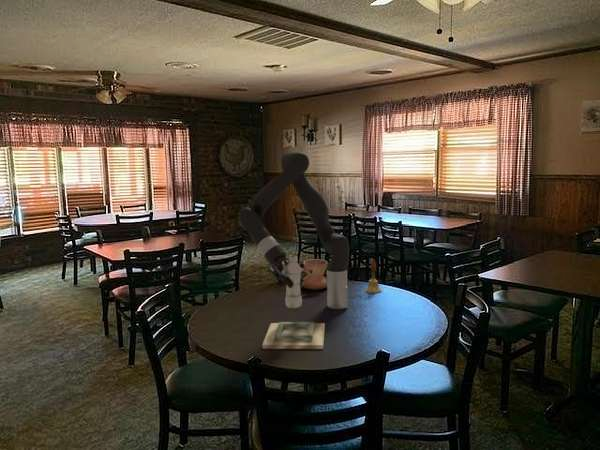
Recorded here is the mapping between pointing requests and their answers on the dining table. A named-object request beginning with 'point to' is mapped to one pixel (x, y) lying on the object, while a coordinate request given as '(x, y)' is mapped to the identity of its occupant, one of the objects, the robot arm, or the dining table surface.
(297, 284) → the plastic bottle
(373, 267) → the hand bell
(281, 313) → the dining table surface
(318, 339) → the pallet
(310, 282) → the ceramic jug
